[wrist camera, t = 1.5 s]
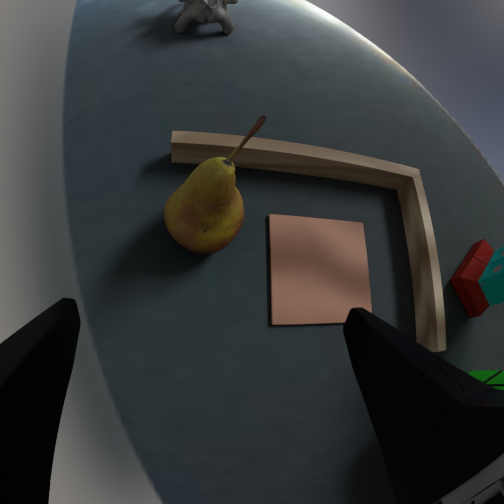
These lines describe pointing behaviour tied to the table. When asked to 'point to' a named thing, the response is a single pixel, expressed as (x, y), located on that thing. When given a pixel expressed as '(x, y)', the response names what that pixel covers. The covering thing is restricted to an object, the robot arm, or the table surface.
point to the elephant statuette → (205, 14)
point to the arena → (332, 234)
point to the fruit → (208, 204)
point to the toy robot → (480, 278)
